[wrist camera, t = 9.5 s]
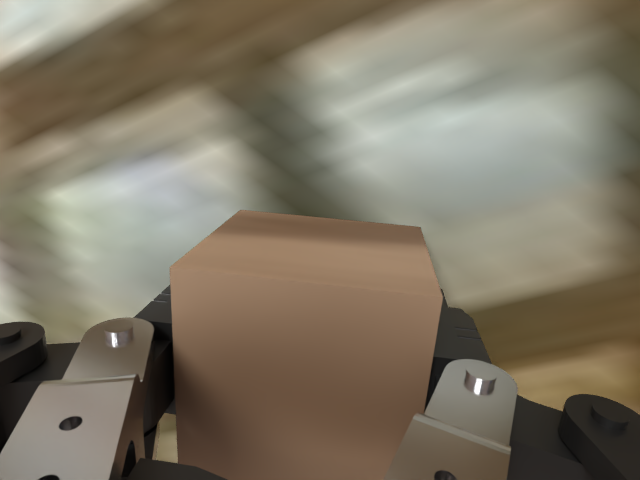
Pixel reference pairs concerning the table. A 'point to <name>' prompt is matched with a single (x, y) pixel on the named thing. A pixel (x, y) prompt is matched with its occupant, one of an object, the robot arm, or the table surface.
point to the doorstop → (301, 346)
